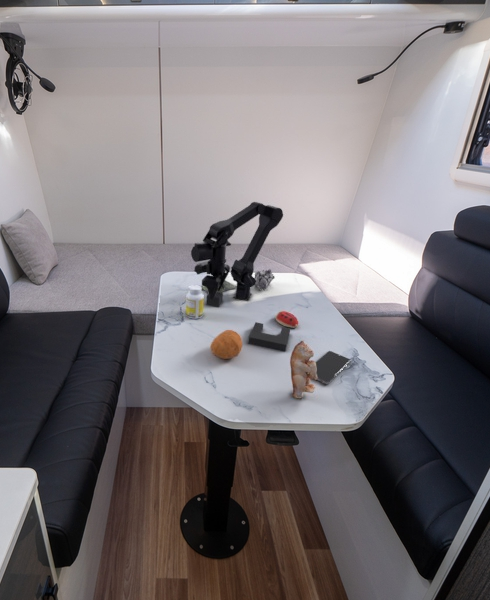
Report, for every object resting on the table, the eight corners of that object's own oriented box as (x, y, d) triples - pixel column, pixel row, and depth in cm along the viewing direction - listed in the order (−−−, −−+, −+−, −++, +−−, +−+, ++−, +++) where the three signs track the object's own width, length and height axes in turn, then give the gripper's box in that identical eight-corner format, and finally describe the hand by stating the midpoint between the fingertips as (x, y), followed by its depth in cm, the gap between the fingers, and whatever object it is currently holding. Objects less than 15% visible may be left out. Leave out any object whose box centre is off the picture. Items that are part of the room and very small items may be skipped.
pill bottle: (203, 312, 143) (204, 284, 138) (202, 320, 137) (204, 291, 132) (186, 310, 143) (187, 283, 138) (184, 318, 138) (185, 290, 133)
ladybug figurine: (283, 315, 142) (285, 307, 140) (303, 326, 134) (305, 318, 132) (270, 319, 138) (271, 310, 137) (289, 331, 131) (291, 322, 129)
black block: (210, 299, 153) (210, 290, 151) (222, 301, 151) (223, 292, 149) (206, 304, 149) (206, 295, 147) (218, 307, 147) (219, 298, 145)
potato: (248, 354, 117) (251, 334, 114) (225, 368, 110) (227, 347, 107) (226, 342, 123) (227, 323, 120) (203, 355, 116) (204, 335, 113)
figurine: (310, 405, 97) (320, 357, 90) (281, 394, 100) (289, 347, 94) (315, 392, 102) (326, 345, 95) (288, 382, 105) (296, 336, 99)
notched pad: (254, 328, 132) (255, 322, 131) (289, 335, 128) (290, 328, 127) (248, 343, 123) (248, 337, 122) (285, 351, 119) (286, 344, 118)
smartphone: (303, 371, 108) (329, 349, 118) (303, 374, 109) (328, 352, 119) (328, 383, 103) (352, 359, 113) (327, 386, 104) (351, 362, 114)
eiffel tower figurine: (222, 280, 172) (224, 252, 166) (238, 287, 165) (241, 258, 159) (197, 287, 164) (199, 258, 158) (213, 295, 157) (215, 265, 151)
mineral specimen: (266, 288, 155) (267, 264, 157) (246, 289, 161) (247, 267, 163) (279, 293, 164) (280, 271, 166) (260, 294, 170) (261, 273, 172)
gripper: (204, 248, 152) (203, 283, 159) (189, 262, 136) (188, 300, 143) (231, 251, 148) (228, 287, 155) (218, 266, 133) (215, 305, 139)
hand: (215, 294), depth 148 cm, fingers open, 9 cm apart
